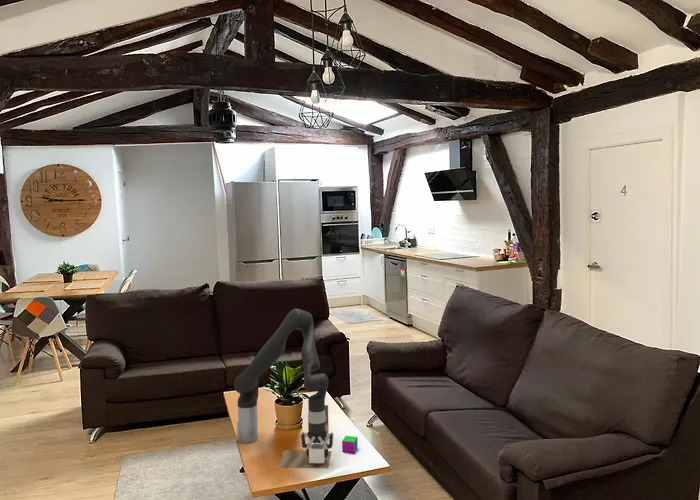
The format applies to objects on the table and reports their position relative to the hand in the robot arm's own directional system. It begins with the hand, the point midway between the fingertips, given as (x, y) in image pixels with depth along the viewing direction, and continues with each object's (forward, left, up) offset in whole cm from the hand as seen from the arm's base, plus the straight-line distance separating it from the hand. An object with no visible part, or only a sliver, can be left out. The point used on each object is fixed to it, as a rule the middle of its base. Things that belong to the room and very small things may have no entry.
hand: (317, 456), depth 238 cm
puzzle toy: (+13, +15, -5) cm, 20 cm away
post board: (-6, +3, -4) cm, 8 cm away
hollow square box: (0, 0, -1) cm, 1 cm away
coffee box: (-2, +25, -4) cm, 25 cm away
